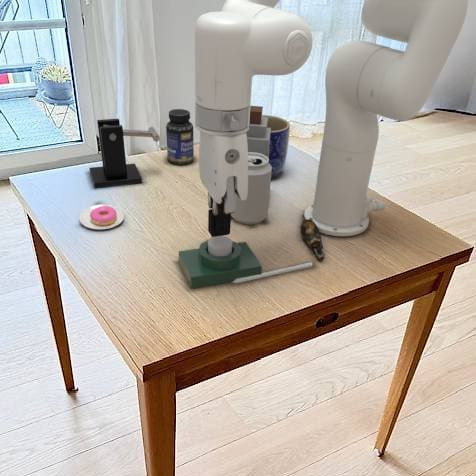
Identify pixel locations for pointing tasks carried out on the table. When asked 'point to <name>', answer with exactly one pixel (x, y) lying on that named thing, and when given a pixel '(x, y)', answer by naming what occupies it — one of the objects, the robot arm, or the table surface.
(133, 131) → the flush lever
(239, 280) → the pencil
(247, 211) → the can
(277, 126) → the planter
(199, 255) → the button block
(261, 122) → the perfume bottle
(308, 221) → the bird model
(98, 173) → the lever bracket
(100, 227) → the donut
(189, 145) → the pill bottle
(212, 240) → the flush button
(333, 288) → the table surface
